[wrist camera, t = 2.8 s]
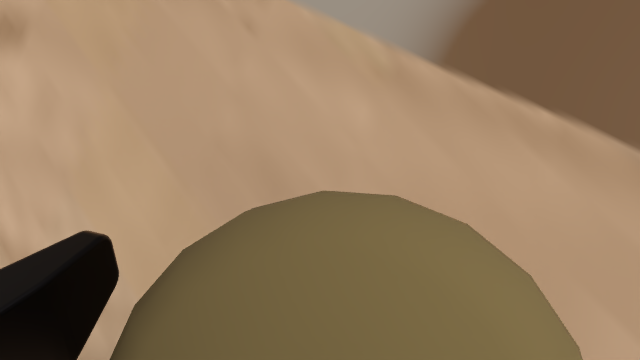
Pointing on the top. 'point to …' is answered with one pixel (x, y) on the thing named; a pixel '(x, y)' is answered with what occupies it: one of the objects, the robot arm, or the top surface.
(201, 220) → the top surface
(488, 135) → the top surface
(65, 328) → the robot arm
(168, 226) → the top surface
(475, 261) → the cork
